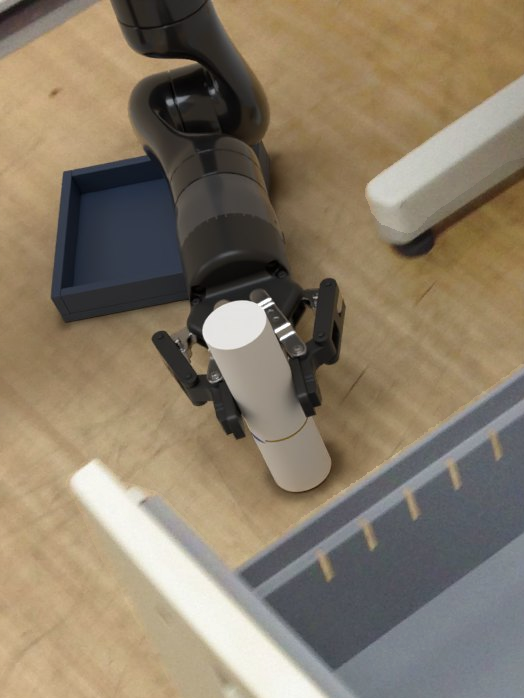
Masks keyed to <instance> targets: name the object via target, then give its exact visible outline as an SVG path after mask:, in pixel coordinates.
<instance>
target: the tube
mask: <svg viewBox="0 0 524 698" xmlns="http://www.w3.org/2000/svg"><path fill="white" fill-rule="evenodd" d="M202 331H203V337H204V339H205V341H206V343H207V345H208V347H209V349H210V351H211V353H212V355H213V357H214V359H215V361H216V363H217V365H218V367H219V369H220V371H221V373H222V375H223V377H224V379H225V381H226V383H227V385H228V387H229V389H230V391H231V393H232V395H233V397H234V399H235V401H236V403H237V405H238V407H239V409H240V411H241V414H242V418H243V420H244V421H245V424H246V425H247V427H248V429H249V431H250V433H251V436H252V437H253V440H254V442H255V444H256V445H257V448H258V450H259V451H260V452H259V453H261V456H262V458H263V460H264V462H265V463H266V466H267V468H268V470H269V472H270V474H271V476H272V478H273V479H274V482H275V484H276V485H277V486H278V487H280V489H282V490H284V491H287V492H293V493H299V492H300V493H301V492H304V491H309V490H311V489H314V488H315V487H317V486H319V485H320V484H322V483H323V482H324V481H325V479H326V478H327V477H328V476H329V474H330V471H331V470H332V469H331V468H332V459H331V456H330V454H329V451H328V449H327V447H326V445H325V443H324V440H323V438H322V436H321V434H320V431H319V429H318V427H317V425H316V423H315V421H314V418H313V416H311V417H308V418H306V416H305V414H304V412H303V409H302V407H301V405H300V403H299V400H298V397H297V393H296V390H295V386H294V382H293V378H292V374H291V369H290V366H289V363H288V362H287V360H286V358H285V356H284V353H283V351H282V349H281V347H280V344H279V342H278V340H277V338H276V336H275V333H274V331H273V329H272V327H271V324H270V322H269V320H268V318H267V316H266V313H265V311H264V310H263V308H262V307H261V306H259V305H258V304H256V303H254V302H251V301H242V300H241V301H234V302H230V303H227V304H224V305H222V306H220V307H219V308H217V309H216V310H214V311H213V312H212V313H211V314H210V315H209V316H208V318H207V319H206V321H205V323H204V325H203V330H202Z"/></svg>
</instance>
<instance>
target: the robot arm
mask: <svg viewBox="0 0 524 698" xmlns="http://www.w3.org/2000/svg"><path fill="white" fill-rule="evenodd" d="M109 2H110V4H111V7H112V10H113V13H114V15H115V18H116V20H117V23H118V26H119V29H120V32H121V33H122V36H123V38H124V40H125V42H126V44H127V46H128V47H129V48H130V49H131V50H132V51H134V52H135V54H138V55H140V56H141V57H145V58H150V59H156V60H186V61H187V60H188V61H192V62H195V63H190V64H187V65H183V66H179V67H175V68H171V69H169V70H162V71H159V72H155V73H152V74H149V75H147V76H144V77H143V78H141V79H140V80H138V81H137V83H136V84H135V85H134V86H133V88H132V90H131V91H130V93H129V97H128V100H127V116H128V117H127V118H128V121H129V124H130V128H131V130H132V132H133V135H134V137H135V138H136V140H137V143H139V145H140V147H141V148H142V150H143V152H144V154H145V155H147V156H148V157H149V158H150V160H151V161H152V162H153V164H154V165H155V166H156V167H157V169H158V170H159V171H160V172H161V174H162V175H163V177H164V179H165V181H166V183H167V186H168V189H169V193H170V196H171V201H172V206H173V210H174V215H175V233H176V241H177V246H178V251H179V256H180V260H181V265H182V270H183V274H184V279H185V283H186V288H187V293H188V298H189V299H188V302H189V306H190V311H189V315H188V317H187V319H186V326H185V327H183V328H182V329H179V330H178V331H175V332H174V333H172V334H171V335H170V334H169V333H168V331H166V330H158V331H156V332H154V333H153V334H152V335H151V338H150V339H151V342H152V343H153V346H154V348H155V350H156V351H157V353H158V356H159V357H160V359H161V361H162V363H163V364H164V366H165V367H166V369H167V371H169V373H170V374H171V376H172V377H173V378H174V380H175V381H176V383H177V384H178V385H179V387H180V389H181V390H182V391H183V392H184V394H185V395H186V397H187V398H188V399H189V401H190V402H191V404H192V405H193V406H194V407H203V406H205V405H206V404H207V403H208V402H212V403H213V407H214V413H215V418H216V420H217V421H218V424H219V425H220V428H221V430H222V431H223V432H224V433H225V434H226V435H227V436H229V435H233V437H234V439H235V440H236V441H239V440H241V439H244V438H247V432H246V428H245V423H244V417H243V415H242V413H241V411H240V409H239V407H238V405H237V403H236V401H235V399H234V397H233V395H232V393H231V391H230V389H229V387H228V385H227V383H226V381H225V379H224V377H223V375H222V373H221V371H220V369H219V367H218V365H217V363H216V361H215V359H214V357H213V355H212V353H211V351H210V349H209V347H208V345H207V343H206V341H205V339H204V337H203V331H202V330H203V325H204V323H205V321H206V319H207V318H208V316H209V315H210V314H211V313H212V312H213V311H214V310H216V309H217V308H219V307H220V306H222V305H224V304H227V303H230V302H234V301H241V300H242V301H251V302H254V303H256V304H258V305H259V306H261V307H262V308H263V310H264V311H265V313H266V316H267V318H268V320H269V322H270V324H271V327H272V329H273V331H274V333H275V336H276V338H277V340H278V342H279V344H280V347H281V349H282V351H283V353H284V356H285V358H286V360H287V362H288V364H289V367H290V369H291V374H292V378H293V382H294V386H295V390H296V393H297V397H298V400H299V403H300V405H301V407H302V409H303V412H304V414H305V416H306V418H308V417H311V416H312V417H313V416H317V411H316V408H318V407H321V406H322V403H323V397H322V396H323V395H322V391H321V389H320V385H319V380H318V377H317V371H318V369H319V368H320V367H322V366H323V365H326V366H333V365H335V364H336V363H337V362H339V360H340V357H341V349H342V340H343V333H344V323H345V318H346V317H345V316H346V309H347V308H346V307H347V306H346V303H345V300H344V298H343V295H342V292H341V289H340V287H339V285H338V283H337V280H336V279H335V278H333V277H326V278H324V279H322V280H321V281H320V282H319V287H314V288H306V289H303V287H302V286H301V285H300V284H299V283H298V282H296V281H295V278H294V275H293V274H294V273H293V270H292V267H291V263H290V258H289V255H288V251H287V247H286V239H285V233H284V232H283V231H282V228H281V226H280V222H279V219H278V216H277V213H276V211H275V209H274V207H273V205H272V203H271V201H270V200H271V199H270V196H269V197H268V193H267V189H266V185H265V181H264V178H263V174H262V170H261V167H260V163H259V161H258V159H257V156H256V155H255V153H254V151H253V150H252V149H251V147H252V146H254V145H256V144H258V143H259V142H260V141H261V140H262V141H263V139H264V138H265V136H266V134H267V132H268V130H269V127H270V124H271V107H270V103H269V98H268V96H267V93H266V91H265V88H264V87H263V85H262V83H261V81H260V80H259V78H258V76H257V74H256V73H255V71H254V70H253V68H252V67H251V66H250V64H249V63H248V62H247V59H246V58H245V57H244V56H243V54H242V52H240V50H239V49H238V48H237V46H236V44H235V43H234V42H233V40H232V38H231V37H230V35H229V34H228V31H227V30H226V28H225V26H224V25H223V23H222V21H221V19H220V17H219V15H218V13H217V11H216V8H215V6H214V2H213V0H109ZM307 309H311V311H312V313H313V316H314V322H313V330H312V338H311V339H309V340H308V341H306V342H304V341H303V339H301V337H300V336H299V335H298V333H297V332H296V329H297V327H298V326H299V324H300V322H301V321H302V319H303V317H304V315H305V314H306V312H307ZM195 344H197V345H199V346H201V347H202V348H204V349H206V350H208V355H209V359H208V366H207V370H206V371H207V372H206V373H205V374H204V373H203V374H198V373H197V372H196V370H195V369H194V367H193V366H192V365H191V363H192V360H191V359H192V357H193V351H192V348H193V346H194V345H195Z"/></svg>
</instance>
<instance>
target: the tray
mask: <svg viewBox="0 0 524 698" xmlns="http://www.w3.org/2000/svg"><path fill="white" fill-rule="evenodd" d="M251 149H252V150H253V151H254V153H255V155H256V156H257V159H258V161H259V163H260V167H261V170H262V174H263V178H264V181H265V185H266V189H267V193H268V197H269V198H270V196H271V195H270V194H271V193H270V190H271V189H270V184H271V183H270V181H271V179H270V177H271V176H270V174H271V173H270V167H271V166H270V165H271V164H270V162H271V160H270V156H269V154H268V151H267V148H266V146H265V144H264V142H263V139H262V140H261V141H260V142H259V143H258V144H256V145H254V146H252V147H251ZM61 178H62V179H61V189H60V197H59V208H58V210H59V211H58V217H57V226H56V227H57V229H56V230H57V231H56V238H55V239H56V240H55V247H54V259H53V269H52V279H51V288H50V300H51V301H52V303H53V305H54V306H55V308H56V310H57V311H58V313H59V315H60V317H61V319H62V320H63V322H64V323H69V322H74V321H75V322H76V321H80V320H86V319H90V318H96V317H101V316H105V315H106V316H107V315H112V314H117V313H122V312H127V311H132V310H138V309H143V308H147V307H152V306H158V305H163V304H168V303H173V302H178V301H179V302H180V301H185V300H189V298H188V293H187V288H186V283H185V279H184V274H183V270H182V265H181V260H180V256H179V251H178V246H177V241H176V233H175V215H174V210H173V206H172V201H171V196H170V193H169V189H168V186H167V183H166V181H165V179H164V177H163V175H162V174H161V172H160V171H159V170H158V169H157V167H156V166H155V165H154V164H153V162H152V161H151V160H150V158H149V157H148V156H147V154H145V155H140V156H134V157H130V158H124V159H120V160H115V161H109V162H104V163H100V164H95V165H89V166H84V167H79V168H75V169H69V170H64V171H62V177H61Z"/></svg>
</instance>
